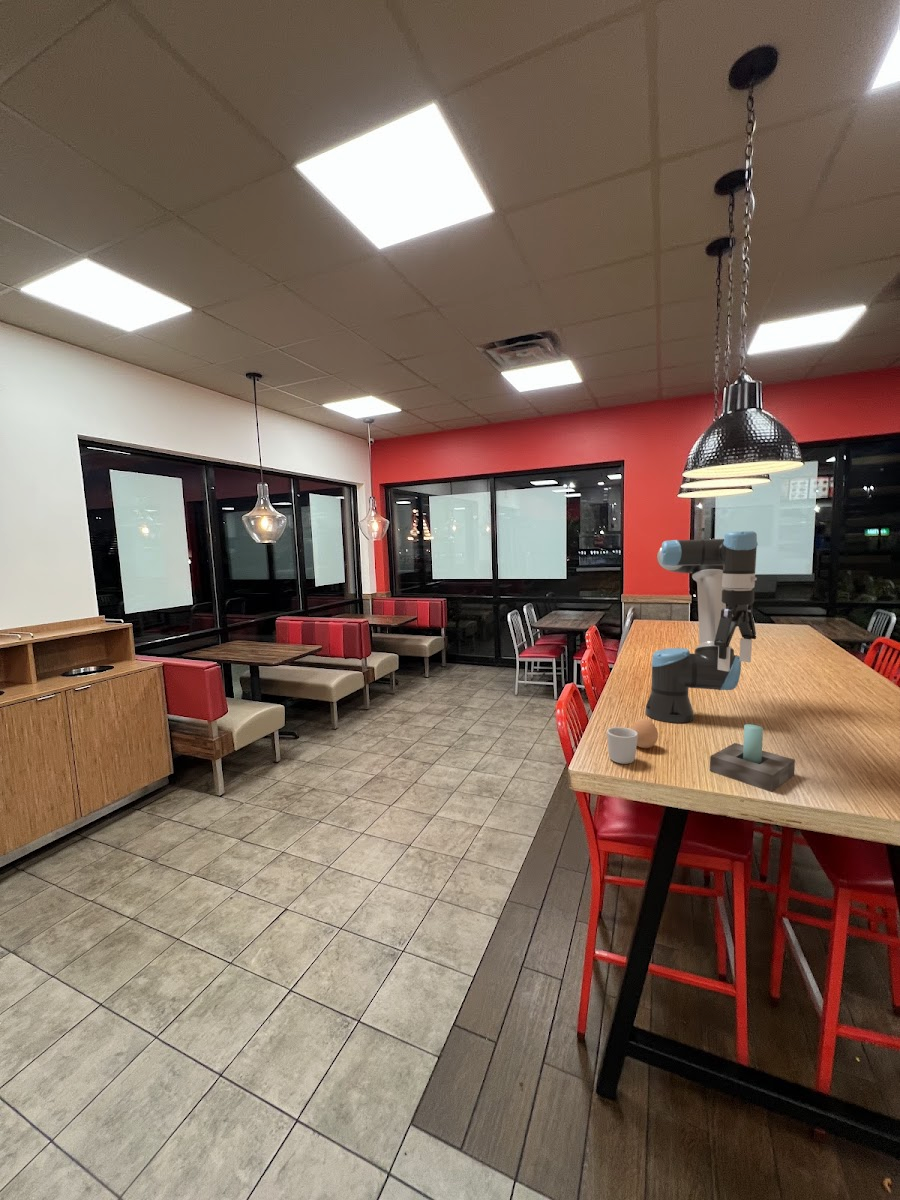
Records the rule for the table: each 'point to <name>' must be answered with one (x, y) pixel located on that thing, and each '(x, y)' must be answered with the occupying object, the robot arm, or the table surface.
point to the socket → (752, 767)
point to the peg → (753, 743)
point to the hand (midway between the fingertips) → (734, 665)
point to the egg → (645, 733)
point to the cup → (622, 744)
